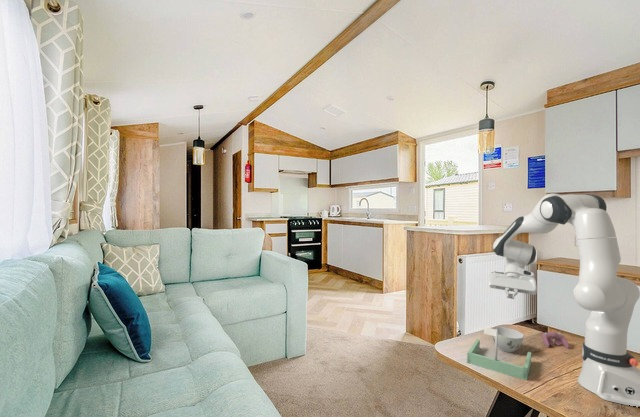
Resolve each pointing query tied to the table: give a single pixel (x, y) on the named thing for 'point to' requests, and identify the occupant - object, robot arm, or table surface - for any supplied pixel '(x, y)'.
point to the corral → (496, 364)
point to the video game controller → (553, 335)
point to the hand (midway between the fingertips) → (510, 297)
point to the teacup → (508, 339)
